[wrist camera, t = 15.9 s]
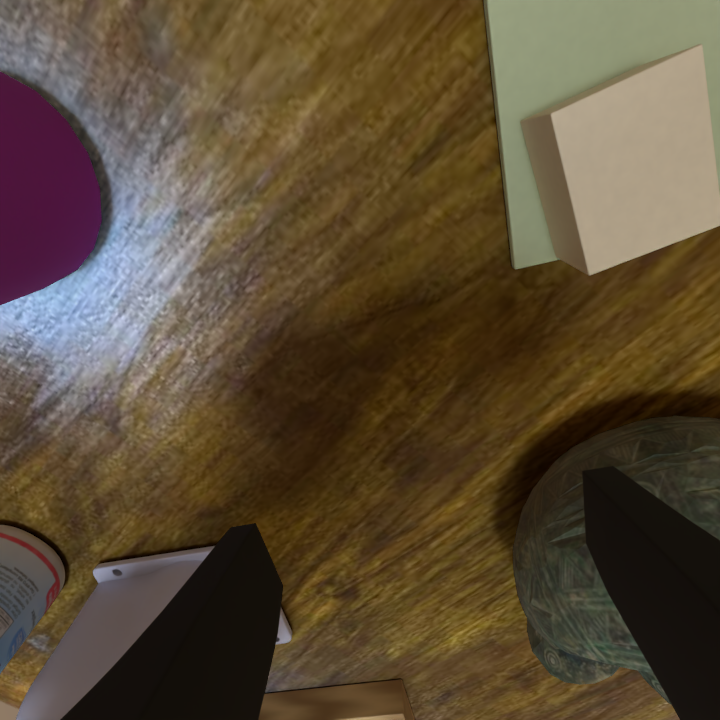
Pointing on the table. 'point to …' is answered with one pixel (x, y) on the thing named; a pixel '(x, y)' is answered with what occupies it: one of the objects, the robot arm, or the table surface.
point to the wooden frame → (340, 703)
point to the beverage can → (42, 194)
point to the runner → (578, 78)
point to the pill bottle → (24, 586)
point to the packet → (627, 163)
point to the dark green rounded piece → (572, 557)
